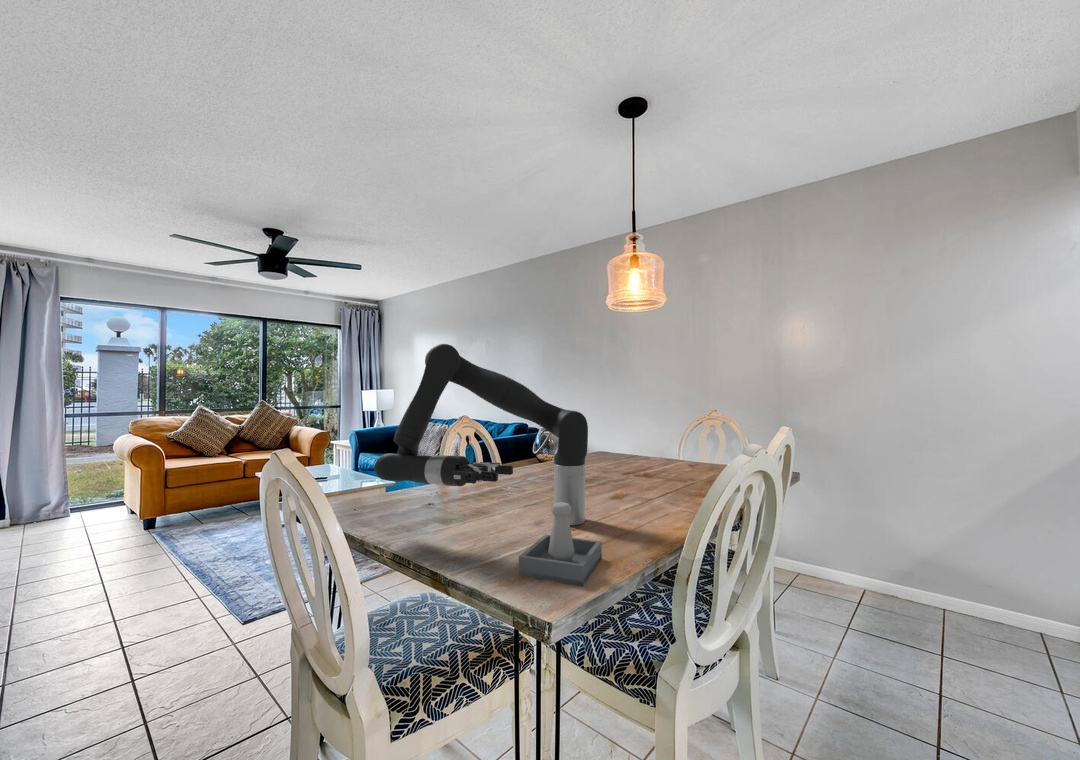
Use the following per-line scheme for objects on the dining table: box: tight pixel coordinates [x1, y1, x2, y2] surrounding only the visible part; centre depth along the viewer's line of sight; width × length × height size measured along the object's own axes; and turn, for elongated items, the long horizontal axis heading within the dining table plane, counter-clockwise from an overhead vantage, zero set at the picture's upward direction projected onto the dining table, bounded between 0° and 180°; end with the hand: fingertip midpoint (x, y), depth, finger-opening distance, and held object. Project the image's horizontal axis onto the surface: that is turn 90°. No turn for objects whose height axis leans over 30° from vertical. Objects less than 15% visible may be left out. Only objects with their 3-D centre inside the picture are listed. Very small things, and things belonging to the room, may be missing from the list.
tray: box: [518, 533, 602, 587], centre depth 100 cm, size 16×14×4 cm
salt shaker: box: [548, 502, 575, 562], centre depth 100 cm, size 6×6×13 cm
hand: (505, 473), depth 109 cm, fingers open, 8 cm apart
